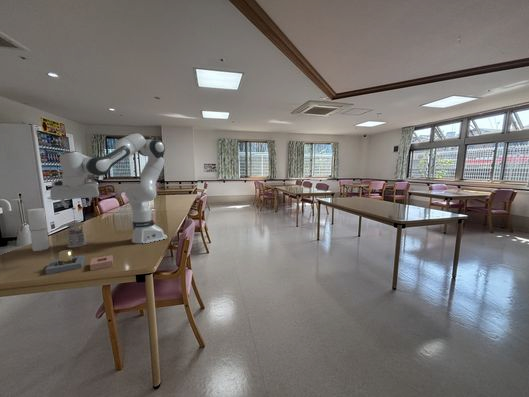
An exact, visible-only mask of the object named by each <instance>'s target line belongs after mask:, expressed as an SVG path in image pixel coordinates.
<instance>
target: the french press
mask: <svg viewBox="0 0 529 397" xmlns="http://www.w3.org/2000/svg"><path fill="white" fill-rule="evenodd" d="M71 210H72V211H73V213H75V210H76V207H71ZM73 219H74V221H73V222H70V223H68V224H67V225H66V227H69V228H66V229H65V231H64V234H63V235H64V238H65V239H66V240H68V245H67V248H79V247H82V246H85V245H87V242H86V241H85V233H84V230H83V229H82V228H78V229H76V228H77V227H79V226H82V225H84V223H83V222H80V221H76V217H75V216H73ZM70 227H71V228H70ZM72 227H73V228H74V229H72ZM66 231H67V232H66ZM66 234H67V235H66Z"/></svg>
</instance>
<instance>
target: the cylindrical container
mask: <svg viewBox="0 0 529 397" xmlns="http://www.w3.org/2000/svg"><path fill="white" fill-rule="evenodd" d="M27 216H28V224H29V232H30V233H29V234H30V238H31V239H30V240H31V248H32V251H33V252H38V251H44V250H47V249H49V248H50V244H49V236H48V228H47V227H48V226H47V220H46V213H45V208H43V207H42V208H31V209H27Z"/></svg>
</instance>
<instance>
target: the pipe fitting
mask: <svg viewBox="0 0 529 397" xmlns="http://www.w3.org/2000/svg"><path fill="white" fill-rule="evenodd" d="M58 257H59V258H58V259H60V265H65V264H71V263H74V262H73V257H74V256H73V249H64V250H61V251H59V252H58Z"/></svg>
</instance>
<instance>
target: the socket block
mask: <svg viewBox="0 0 529 397" xmlns="http://www.w3.org/2000/svg"><path fill="white" fill-rule="evenodd" d="M73 262H74V263H71V264H65V265H60V259H59V258H58V259H52V260H51V261H50V263H49V264H48V265H47V267H46V268H45V270H44V271H45V275H52V274H56V273H62V272H67V271H73V270H74V271H75V270H80V269H82V268H83V266H84V263H85V254H82V255H77V256H73Z"/></svg>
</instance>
